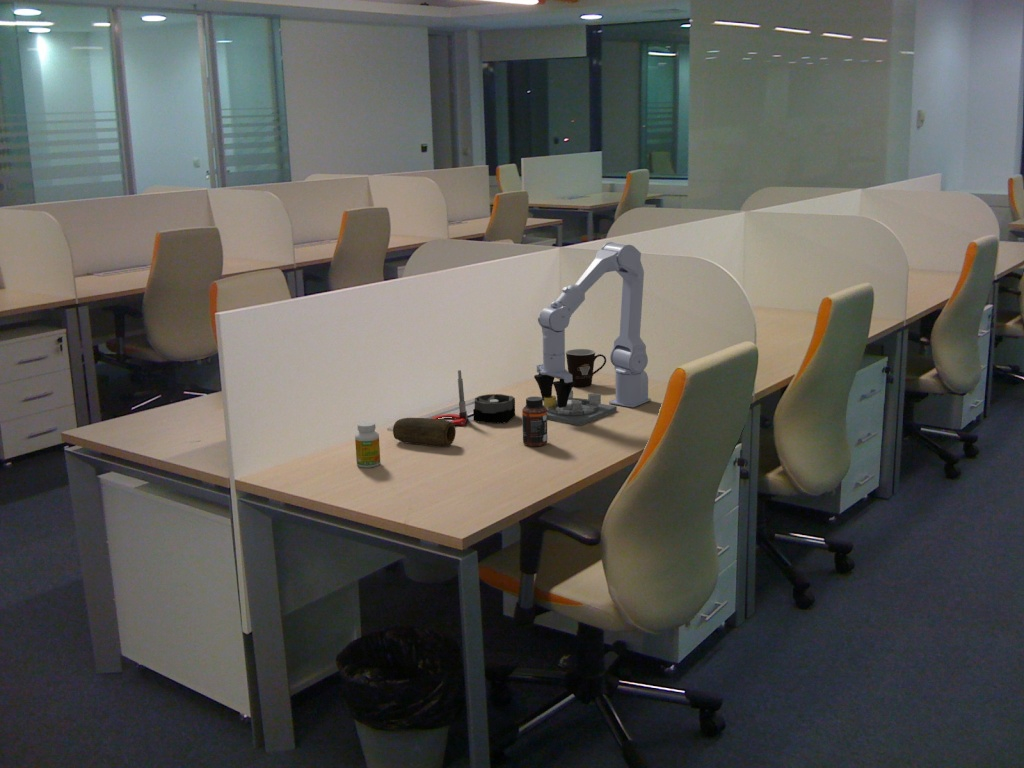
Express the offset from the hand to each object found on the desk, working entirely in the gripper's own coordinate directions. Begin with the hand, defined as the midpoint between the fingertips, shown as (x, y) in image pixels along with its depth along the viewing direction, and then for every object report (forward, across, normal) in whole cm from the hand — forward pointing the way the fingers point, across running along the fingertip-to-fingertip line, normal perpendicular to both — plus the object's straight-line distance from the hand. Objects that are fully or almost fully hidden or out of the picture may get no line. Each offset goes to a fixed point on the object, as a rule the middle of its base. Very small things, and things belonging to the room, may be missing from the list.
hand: (554, 403), depth 261 cm
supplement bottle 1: (+4, +10, -56) cm, 57 cm away
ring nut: (+2, 0, +6) cm, 6 cm away
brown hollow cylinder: (+4, +3, -39) cm, 39 cm away
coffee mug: (+4, -23, +25) cm, 34 cm away
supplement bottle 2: (+4, +18, -16) cm, 24 cm away
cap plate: (+3, 0, +6) cm, 6 cm away
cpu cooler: (+4, -7, -14) cm, 16 cm away
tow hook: (+4, -11, -26) cm, 28 cm away
